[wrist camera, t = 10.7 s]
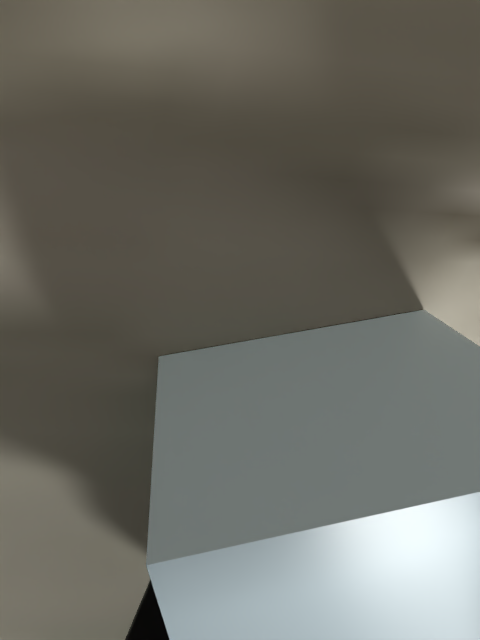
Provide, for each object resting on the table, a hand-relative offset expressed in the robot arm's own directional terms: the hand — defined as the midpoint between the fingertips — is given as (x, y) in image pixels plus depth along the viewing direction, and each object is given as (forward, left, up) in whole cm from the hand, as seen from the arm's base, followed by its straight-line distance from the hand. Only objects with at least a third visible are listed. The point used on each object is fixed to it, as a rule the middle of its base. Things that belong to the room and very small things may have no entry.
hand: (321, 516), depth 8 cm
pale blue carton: (0, 0, -1) cm, 1 cm away
